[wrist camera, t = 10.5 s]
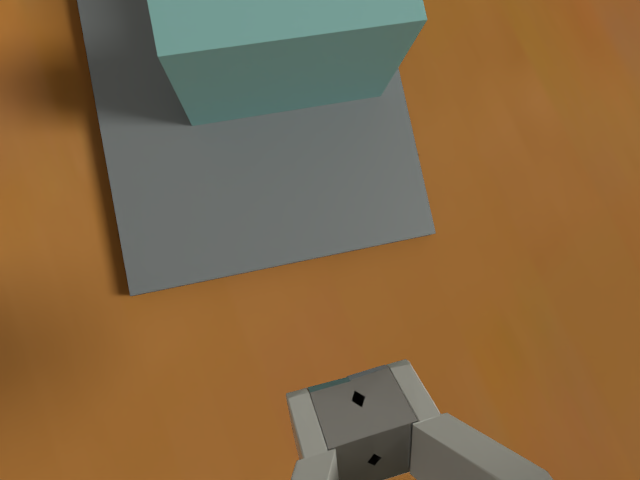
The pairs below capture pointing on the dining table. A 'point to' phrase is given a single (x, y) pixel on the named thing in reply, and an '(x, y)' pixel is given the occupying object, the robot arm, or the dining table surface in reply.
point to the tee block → (279, 52)
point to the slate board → (241, 169)
